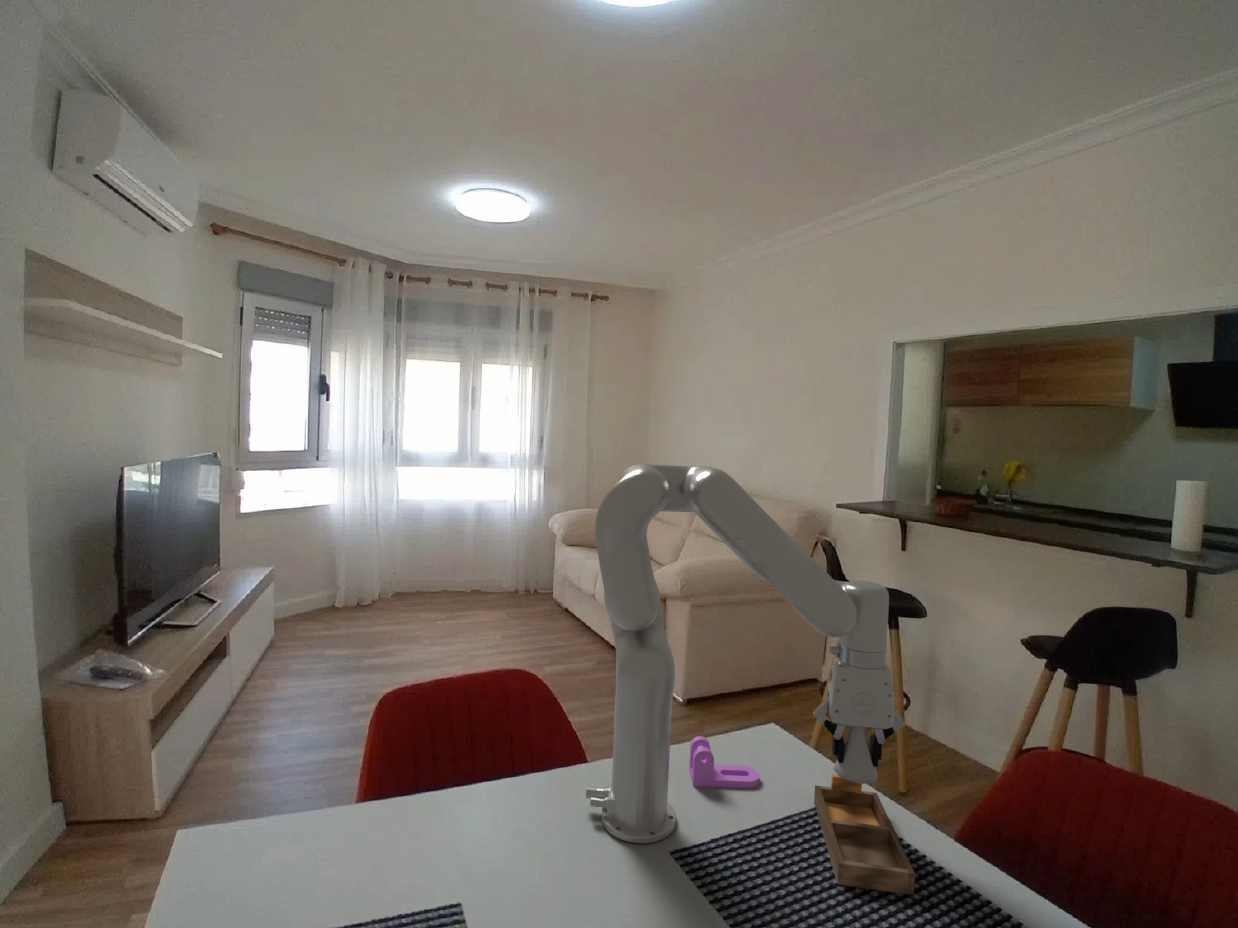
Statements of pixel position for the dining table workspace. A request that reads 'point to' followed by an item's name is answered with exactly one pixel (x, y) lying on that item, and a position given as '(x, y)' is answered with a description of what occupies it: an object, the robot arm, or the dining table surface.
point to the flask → (857, 758)
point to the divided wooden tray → (861, 839)
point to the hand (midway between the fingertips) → (856, 759)
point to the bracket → (717, 769)
